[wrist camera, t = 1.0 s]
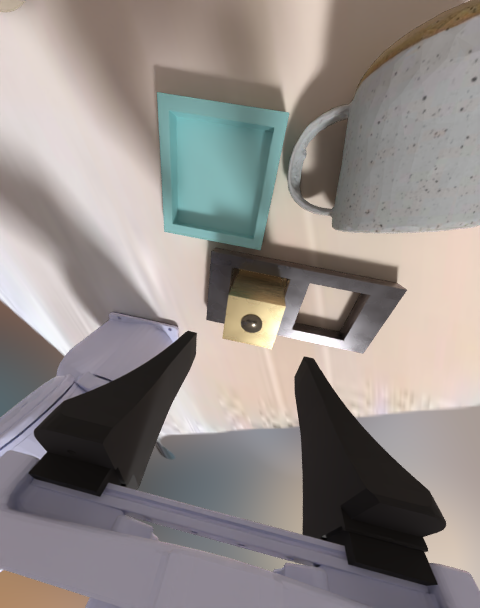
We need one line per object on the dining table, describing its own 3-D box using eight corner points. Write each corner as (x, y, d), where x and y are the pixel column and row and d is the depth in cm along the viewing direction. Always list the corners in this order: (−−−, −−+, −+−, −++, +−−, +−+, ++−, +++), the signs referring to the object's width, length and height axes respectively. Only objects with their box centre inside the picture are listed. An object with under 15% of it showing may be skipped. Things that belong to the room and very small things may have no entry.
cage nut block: (233, 305, 22) (222, 339, 17) (239, 269, 20) (228, 295, 14) (271, 313, 22) (271, 349, 17) (281, 277, 19) (285, 307, 14)
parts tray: (172, 229, 19) (164, 231, 17) (168, 102, 14) (157, 91, 13) (261, 246, 18) (260, 250, 17) (287, 121, 14) (289, 112, 12)
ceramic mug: (468, 66, 11) (740, -117, 5) (422, 215, 15) (534, 230, 9) (286, 109, 13) (296, 25, 7) (287, 230, 17) (294, 251, 11)
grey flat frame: (210, 312, 23) (206, 319, 22) (215, 247, 19) (211, 251, 18) (357, 344, 22) (363, 353, 21) (397, 283, 18) (407, 289, 17)
